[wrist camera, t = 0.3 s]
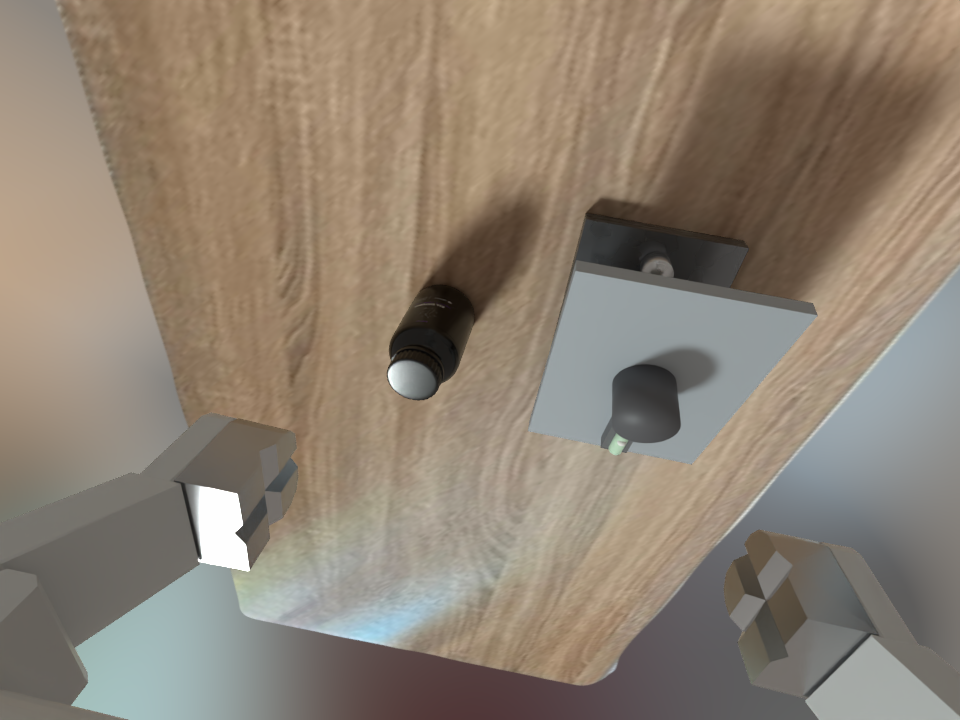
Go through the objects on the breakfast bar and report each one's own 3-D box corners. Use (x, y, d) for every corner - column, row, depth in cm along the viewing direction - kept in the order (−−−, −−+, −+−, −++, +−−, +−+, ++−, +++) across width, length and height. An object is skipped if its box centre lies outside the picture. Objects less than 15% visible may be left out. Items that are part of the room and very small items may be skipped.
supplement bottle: (445, 270, 49) (413, 334, 40) (488, 317, 52) (468, 389, 42) (399, 304, 53) (360, 371, 43) (442, 347, 55) (413, 420, 46)
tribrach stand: (585, 212, 44) (587, 254, 36) (744, 240, 43) (777, 289, 36) (545, 369, 54) (540, 424, 47) (670, 393, 54) (685, 454, 47)
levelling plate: (576, 254, 34) (571, 310, 30) (810, 297, 33) (835, 360, 29) (530, 416, 49) (522, 466, 45) (689, 448, 48) (696, 502, 44)
